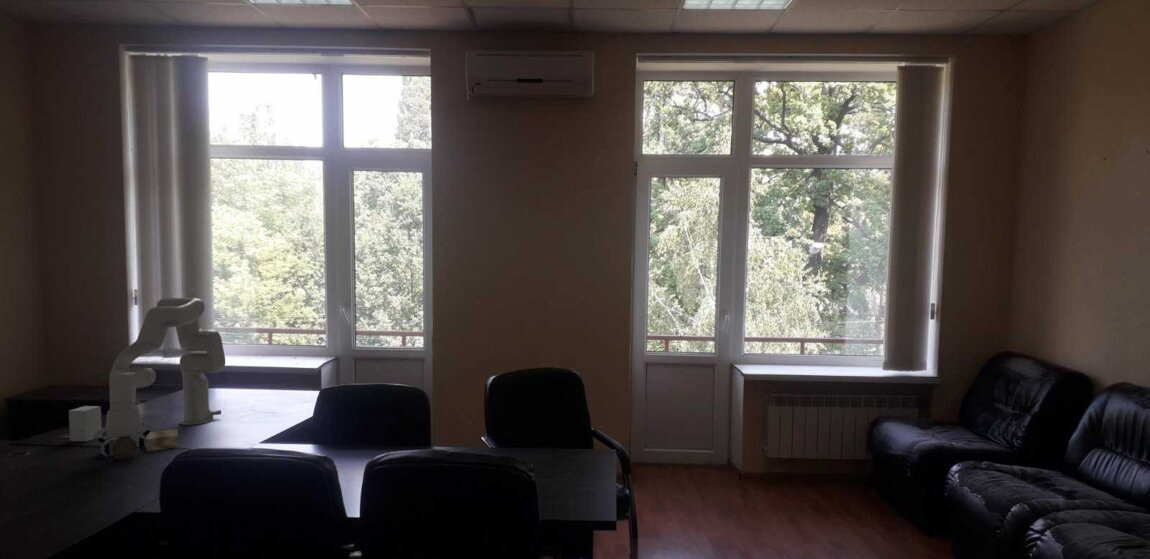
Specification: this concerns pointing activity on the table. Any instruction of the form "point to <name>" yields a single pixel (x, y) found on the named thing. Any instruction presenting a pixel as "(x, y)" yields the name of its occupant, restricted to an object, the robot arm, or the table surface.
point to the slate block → (111, 444)
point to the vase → (124, 448)
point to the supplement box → (84, 423)
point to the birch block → (162, 440)
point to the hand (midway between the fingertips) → (124, 451)
